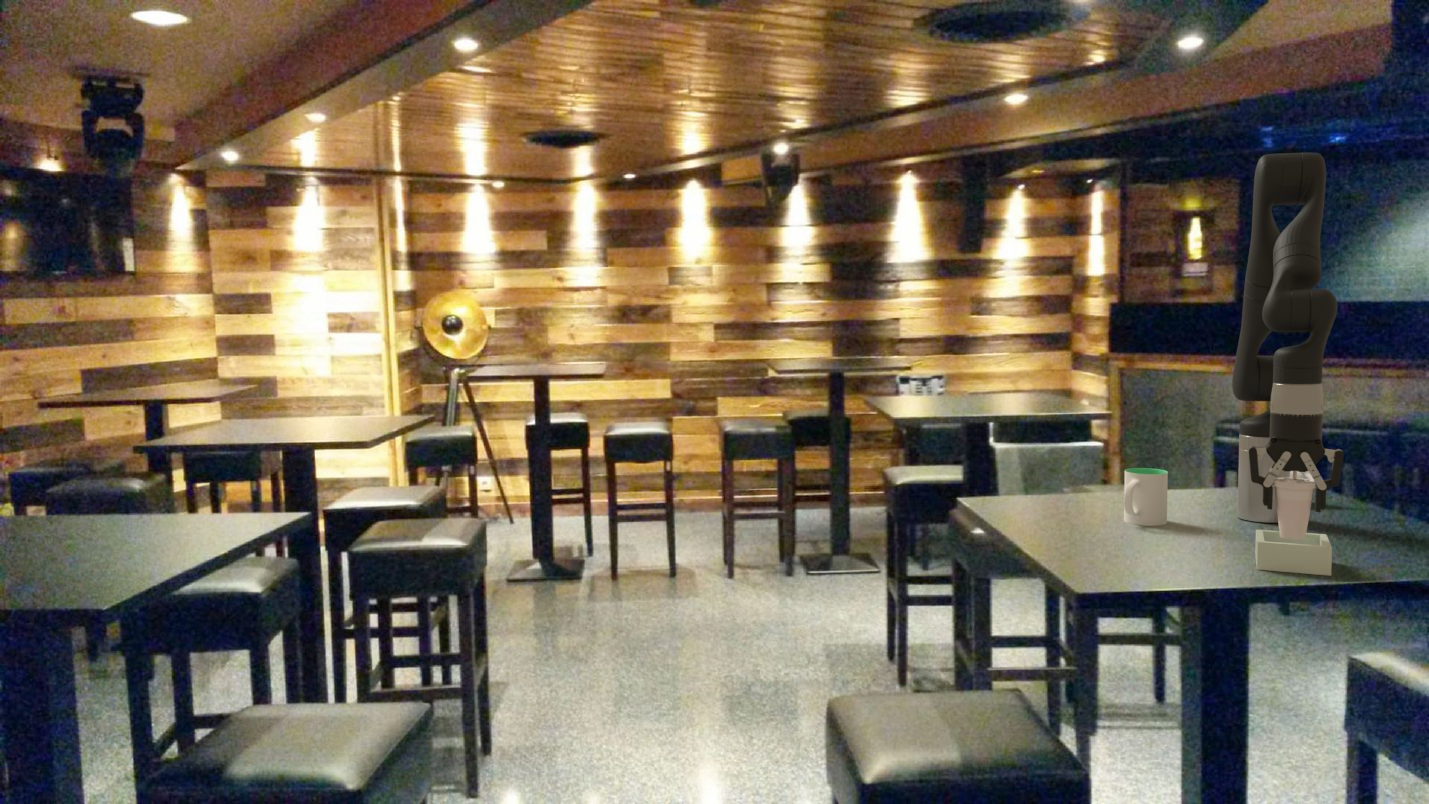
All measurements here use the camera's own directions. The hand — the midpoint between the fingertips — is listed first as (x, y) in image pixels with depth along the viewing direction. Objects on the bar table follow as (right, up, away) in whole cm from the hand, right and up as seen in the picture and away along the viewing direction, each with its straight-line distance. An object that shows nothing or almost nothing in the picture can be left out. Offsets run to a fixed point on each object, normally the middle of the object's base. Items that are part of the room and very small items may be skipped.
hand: (1293, 509), depth 168 cm
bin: (0, -9, +1) cm, 9 cm away
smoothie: (0, -5, 0) cm, 5 cm away
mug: (-10, -7, +36) cm, 38 cm away
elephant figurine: (+29, -4, +54) cm, 62 cm away
